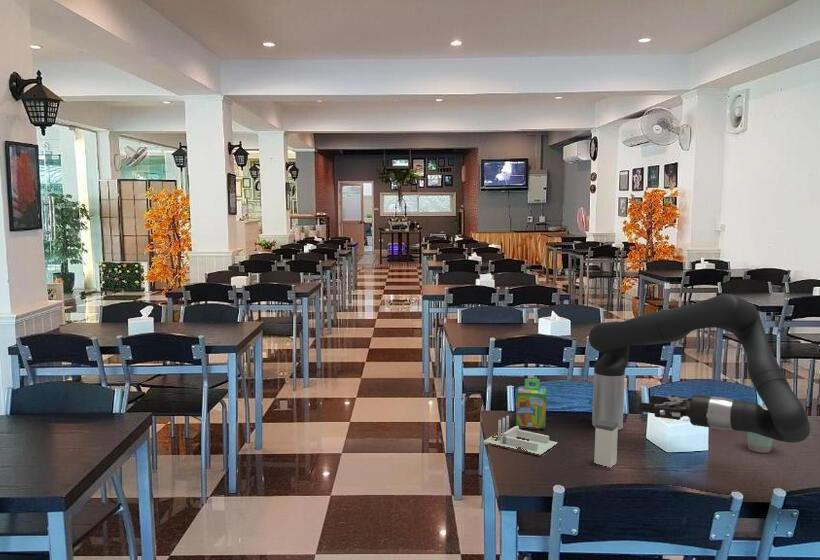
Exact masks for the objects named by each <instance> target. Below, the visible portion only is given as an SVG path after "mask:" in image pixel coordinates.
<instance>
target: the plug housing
mask: <svg viewBox="0 0 820 560" xmlns="http://www.w3.org/2000/svg"><path fill="white" fill-rule="evenodd" d="M618 431H619V430H618V423H614V422H609V421H604V420H601V421H600V422H598V423H597V424H596V428H595V433H594V435H595V437H594V455H593V456H594V460H593V464H594V463H596V464H600V465H603V466H602V467H604V466H607V467H606V468H608V467H610V468H609V469H612V468H613V467H614V466H615V465H616V464H617V457H618V456H617V454H618V453H617V452H618V433H619V432H618ZM613 465H614V466H613ZM612 466H613V467H612ZM611 467H612V468H611Z"/></svg>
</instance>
